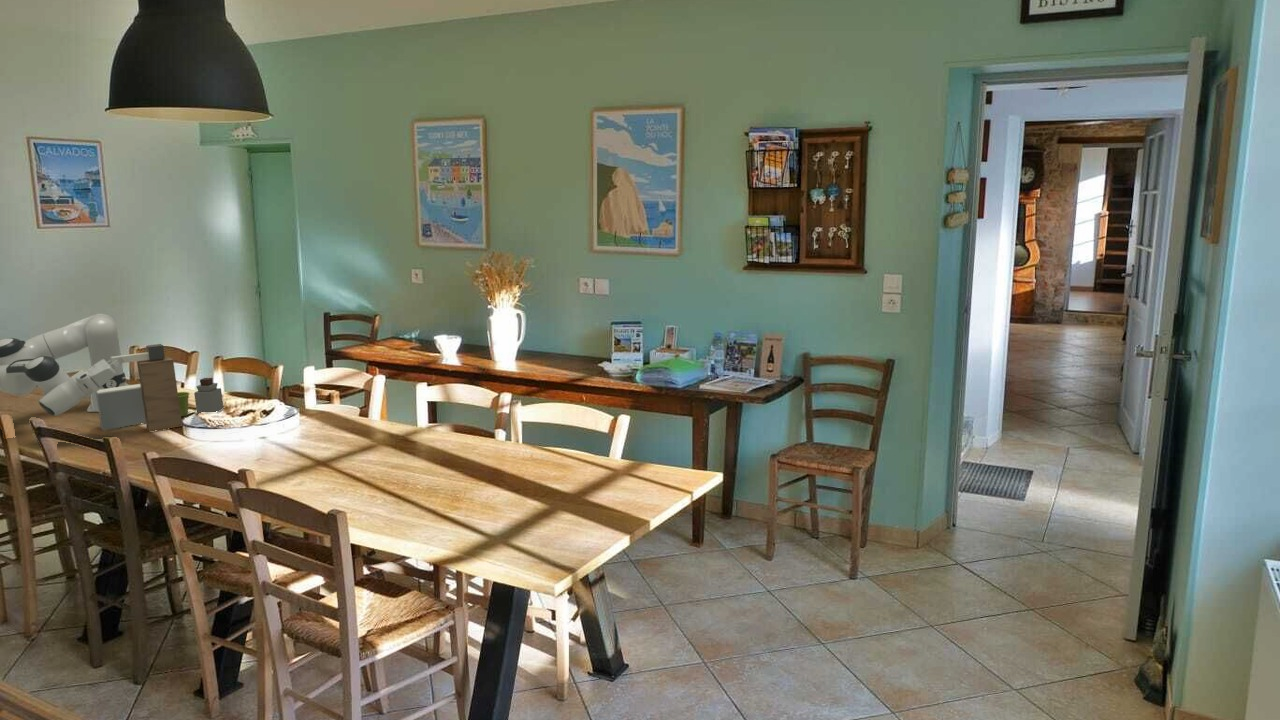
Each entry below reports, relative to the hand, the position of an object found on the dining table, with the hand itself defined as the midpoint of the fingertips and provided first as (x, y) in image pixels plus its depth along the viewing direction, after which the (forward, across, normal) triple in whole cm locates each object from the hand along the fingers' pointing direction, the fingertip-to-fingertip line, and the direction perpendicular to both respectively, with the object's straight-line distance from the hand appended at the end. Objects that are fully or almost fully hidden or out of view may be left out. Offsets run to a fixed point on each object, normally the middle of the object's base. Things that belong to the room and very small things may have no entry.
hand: (121, 358), depth 338 cm
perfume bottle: (+8, +9, -38) cm, 39 cm away
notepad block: (-14, -16, -24) cm, 32 cm away
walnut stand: (-5, 0, -30) cm, 30 cm away
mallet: (+4, 0, -4) cm, 5 cm away
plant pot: (+2, -16, -34) cm, 38 cm away
